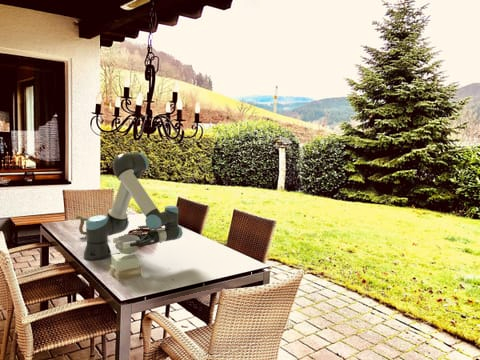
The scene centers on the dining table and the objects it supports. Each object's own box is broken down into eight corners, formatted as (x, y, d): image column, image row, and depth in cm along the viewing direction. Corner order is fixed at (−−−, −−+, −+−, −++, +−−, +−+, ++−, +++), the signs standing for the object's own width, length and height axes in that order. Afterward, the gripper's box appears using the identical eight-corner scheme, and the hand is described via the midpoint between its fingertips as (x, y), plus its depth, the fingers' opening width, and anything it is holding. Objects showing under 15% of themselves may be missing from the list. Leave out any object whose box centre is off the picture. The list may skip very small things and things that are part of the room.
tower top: (111, 264, 204) (111, 254, 203) (132, 261, 209) (132, 252, 209) (116, 270, 194) (116, 261, 194) (138, 267, 200) (138, 258, 199)
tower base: (109, 274, 203) (109, 264, 202) (131, 269, 211) (131, 260, 210) (119, 281, 194) (119, 271, 193) (141, 276, 202) (141, 266, 201)
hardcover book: (147, 236, 274) (147, 233, 274) (137, 229, 293) (137, 226, 293) (169, 234, 282) (169, 231, 282) (157, 227, 302) (157, 224, 301)
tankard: (108, 235, 271) (108, 214, 269) (100, 240, 259) (100, 218, 257) (81, 234, 273) (81, 213, 271) (71, 238, 260) (71, 217, 259)
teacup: (130, 247, 210) (130, 233, 209) (143, 252, 203) (143, 237, 202) (108, 253, 199) (107, 238, 198) (120, 258, 192) (120, 243, 191)
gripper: (167, 248, 205) (129, 256, 190) (145, 238, 221) (108, 244, 207) (167, 234, 204) (129, 241, 189) (145, 225, 220) (108, 231, 206)
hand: (118, 243), depth 198 cm, fingers closed on teacup, 11 cm apart
